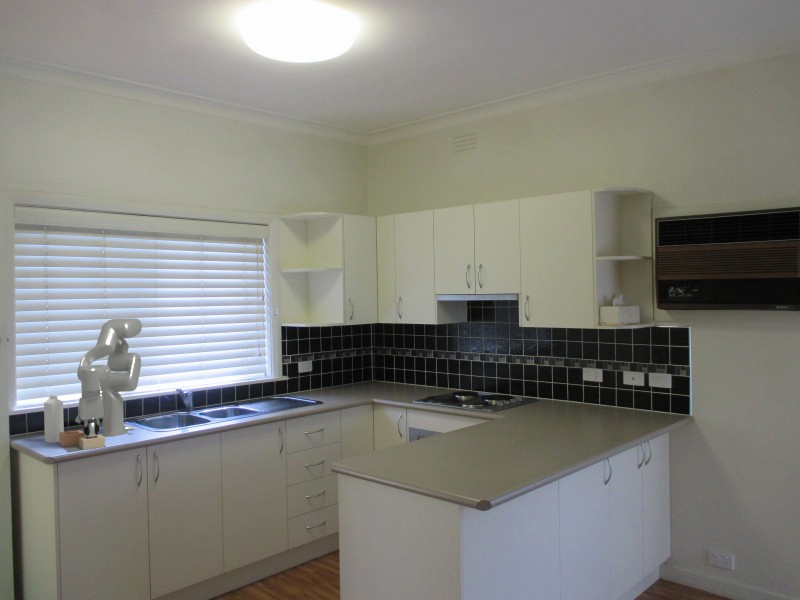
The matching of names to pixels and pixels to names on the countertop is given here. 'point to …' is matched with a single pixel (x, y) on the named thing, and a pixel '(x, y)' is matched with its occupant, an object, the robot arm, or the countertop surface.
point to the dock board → (79, 441)
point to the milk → (53, 419)
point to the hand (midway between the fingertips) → (91, 434)
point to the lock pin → (91, 428)
